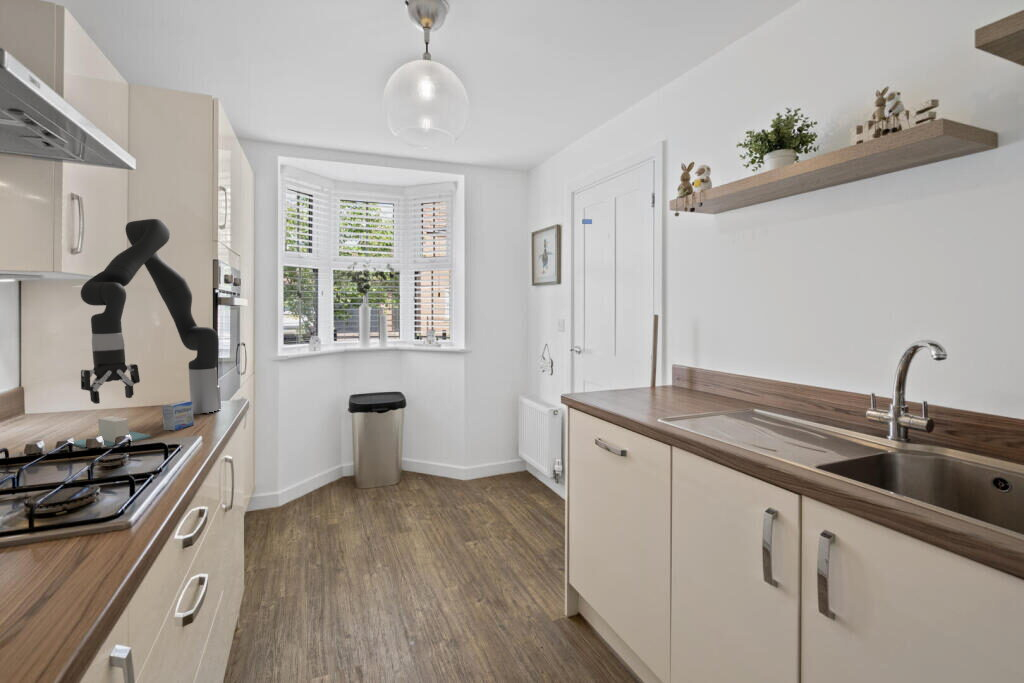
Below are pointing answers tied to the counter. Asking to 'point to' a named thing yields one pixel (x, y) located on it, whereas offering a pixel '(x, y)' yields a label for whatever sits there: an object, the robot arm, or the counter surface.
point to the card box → (113, 427)
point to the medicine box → (177, 415)
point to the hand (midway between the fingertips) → (113, 400)
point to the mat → (134, 435)
